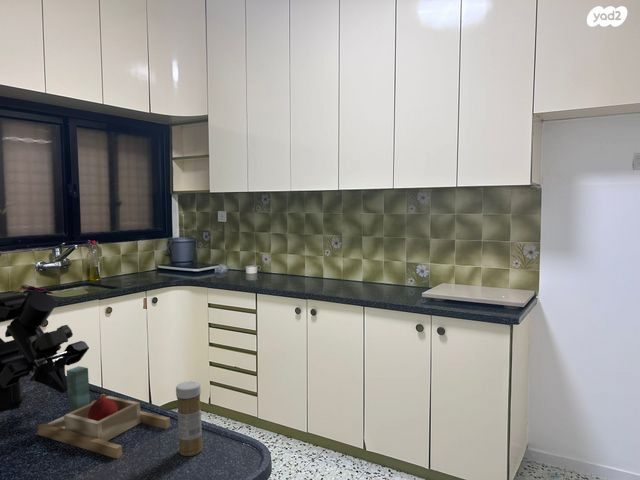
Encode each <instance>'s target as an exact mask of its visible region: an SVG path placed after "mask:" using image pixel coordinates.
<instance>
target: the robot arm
mask: <svg viewBox="0 0 640 480" xmlns="http://www.w3.org/2000/svg"><path fill="white" fill-rule="evenodd" d="M56 305H57V303H56V300H55V298H54V297H52V296H51V295H49V294H47V293H45V292H44V293H43V292H40V290H39V289H32V290H29V291H28V292H27V294H26V295H25V294H23V293H14V292H13V293H2V292H0V323H4V322H8V321H11V322H10V323H9V324H8V325H6V330H5V334H4V335H5V338H9V337H12V340H8V341H4V339H2V338H1V337H0V411H1V410H6V409H9V410H10V409H17V408H20V407H21V406H22V404H23V403H24V402H25V401H26V399H27V398H28V396H27V395H25V394H24V395H22V382H21V381H22V378H24V377H29V376H30V375H31V377H30V379H29V381H30V382H37V383H39V384H42V385H44V386H47V387H49V388H51V389H53V390H55V391H56V392H59V393H60V394H65V393H68V387H67V375H66V366H71V365H74V364H76V363H78V362H80V361H81V360H82V359H83V357H84V356H85V355H86V353H87V352H88V351H89V349H90V347H89V346H88V344H87V342H86V341H84V340H79V341H76V342H73V343H70V344H67V346H66V348H65V349H64V350H63V351H62V352H59V353H58V351H60V350H61V349H62V346H61V345H62V344H65V343H68V342H69V339H70V338H73V334H74V333H73V330H72V329H71V327H70V326H69V325H68V324H64V325H61V326H59V327H57V328H56V330H52V331H49V332H48V331H47V332H44V331H43V330H42V328H41V326H42V325H44V324H45V323H46V321H47V320H48V318H49V317H50V315H51V313H52V312H53V310H55V308H56Z"/></svg>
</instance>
